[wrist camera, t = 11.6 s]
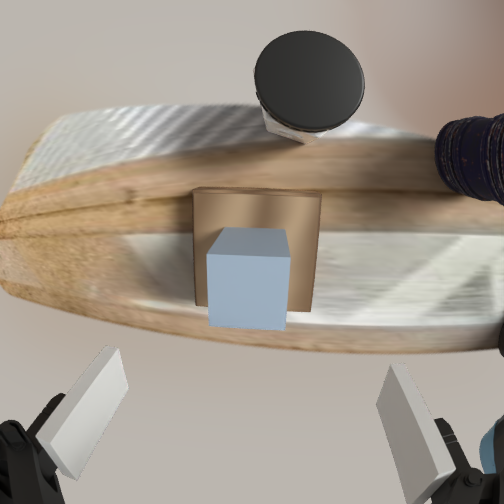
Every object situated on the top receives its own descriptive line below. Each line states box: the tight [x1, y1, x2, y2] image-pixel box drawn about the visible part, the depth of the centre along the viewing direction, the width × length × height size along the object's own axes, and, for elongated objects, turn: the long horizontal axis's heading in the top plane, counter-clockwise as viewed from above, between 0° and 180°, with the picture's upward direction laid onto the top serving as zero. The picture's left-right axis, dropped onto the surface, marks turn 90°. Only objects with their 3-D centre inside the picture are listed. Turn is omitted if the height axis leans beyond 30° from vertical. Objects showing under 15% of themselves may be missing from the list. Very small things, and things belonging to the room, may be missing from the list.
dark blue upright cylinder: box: [434, 113, 504, 206], centre depth 22 cm, size 10×10×15 cm
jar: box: [253, 31, 365, 144], centre depth 24 cm, size 9×8×12 cm
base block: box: [192, 187, 322, 312], centre depth 33 cm, size 13×13×4 cm
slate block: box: [207, 227, 291, 330], centre depth 27 cm, size 6×6×9 cm
